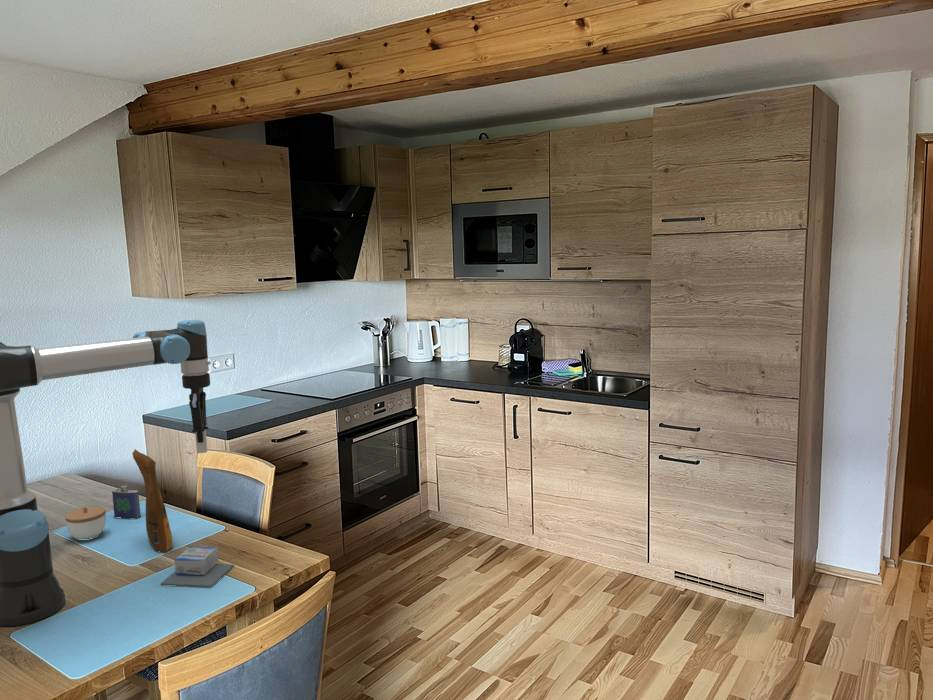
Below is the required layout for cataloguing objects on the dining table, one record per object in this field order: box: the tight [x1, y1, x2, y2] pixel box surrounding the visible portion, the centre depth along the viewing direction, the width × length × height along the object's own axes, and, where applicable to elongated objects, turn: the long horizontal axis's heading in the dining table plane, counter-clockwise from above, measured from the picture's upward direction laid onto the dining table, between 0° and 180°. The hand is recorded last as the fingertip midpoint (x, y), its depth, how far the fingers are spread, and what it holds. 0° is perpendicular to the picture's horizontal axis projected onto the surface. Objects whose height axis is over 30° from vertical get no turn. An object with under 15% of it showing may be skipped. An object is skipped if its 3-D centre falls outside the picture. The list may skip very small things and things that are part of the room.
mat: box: [160, 563, 235, 588], centre depth 183 cm, size 12×14×1 cm
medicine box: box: [174, 545, 219, 576], centre depth 186 cm, size 8×4×9 cm
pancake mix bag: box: [132, 448, 173, 553], centre depth 203 cm, size 7×19×28 cm, turn 34°
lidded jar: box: [65, 506, 107, 540], centre depth 211 cm, size 11×11×9 cm
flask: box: [111, 484, 142, 519], centre depth 226 cm, size 9×3×11 cm, turn 79°
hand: (202, 452), depth 205 cm, fingers closed
